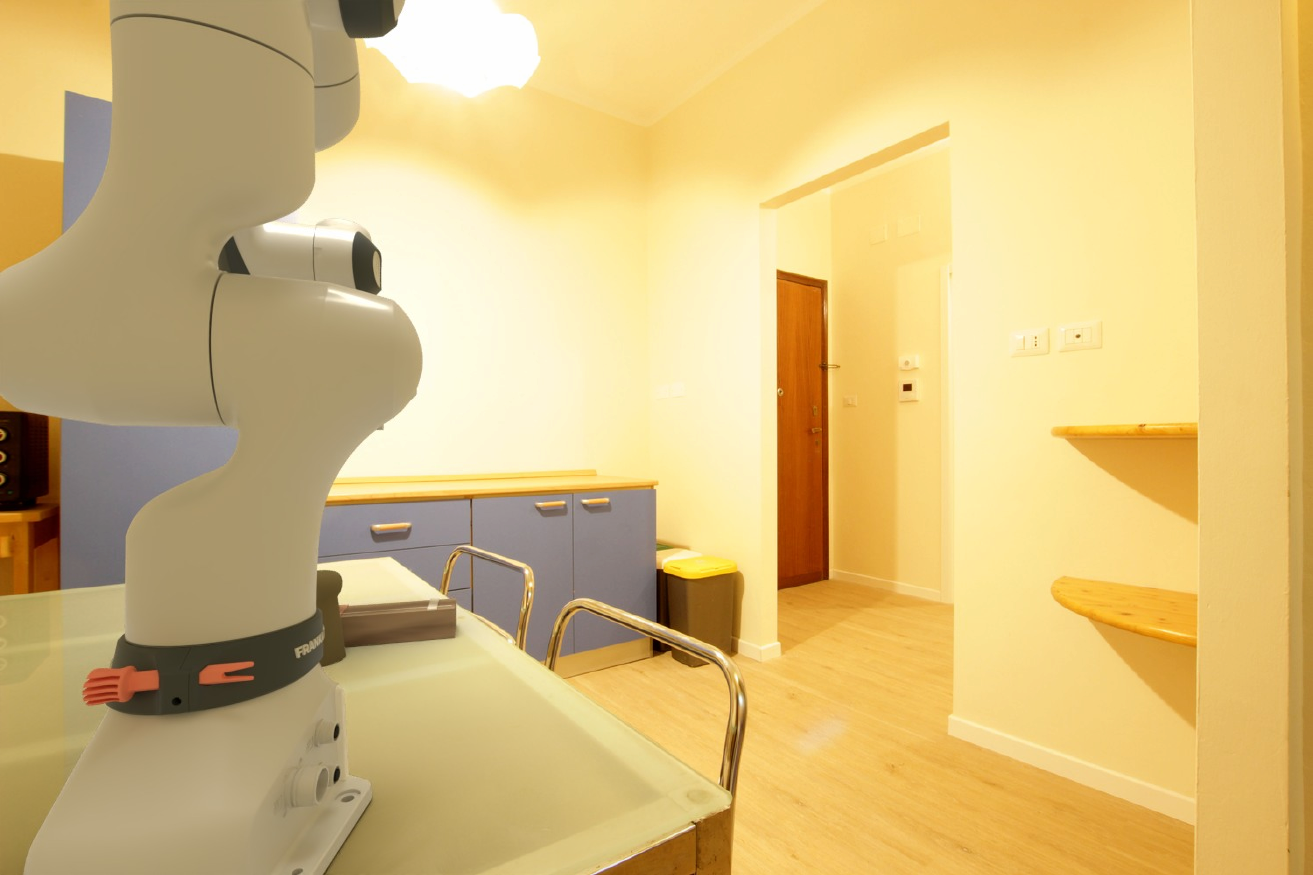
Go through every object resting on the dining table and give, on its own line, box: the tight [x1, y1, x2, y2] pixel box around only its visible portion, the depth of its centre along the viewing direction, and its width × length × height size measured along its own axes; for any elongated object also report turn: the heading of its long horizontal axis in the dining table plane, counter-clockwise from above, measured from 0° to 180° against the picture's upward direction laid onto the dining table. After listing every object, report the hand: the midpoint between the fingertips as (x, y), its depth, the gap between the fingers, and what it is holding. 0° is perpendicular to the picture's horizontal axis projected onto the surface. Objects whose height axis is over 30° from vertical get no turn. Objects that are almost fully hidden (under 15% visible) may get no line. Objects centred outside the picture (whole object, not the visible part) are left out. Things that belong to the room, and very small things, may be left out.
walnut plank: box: [339, 597, 457, 648], centre depth 84 cm, size 6×20×4 cm, turn 106°
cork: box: [316, 569, 347, 667], centre depth 76 cm, size 6×6×11 cm
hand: (342, 429), depth 89 cm, fingers open, 8 cm apart
